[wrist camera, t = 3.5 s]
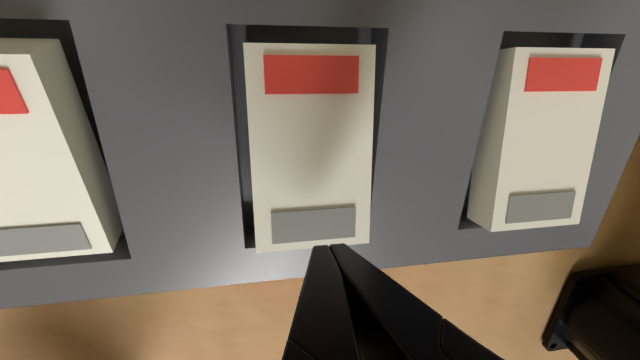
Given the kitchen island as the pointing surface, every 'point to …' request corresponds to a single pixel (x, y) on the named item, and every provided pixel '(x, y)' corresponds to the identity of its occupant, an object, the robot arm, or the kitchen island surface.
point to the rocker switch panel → (233, 136)
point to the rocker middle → (310, 143)
